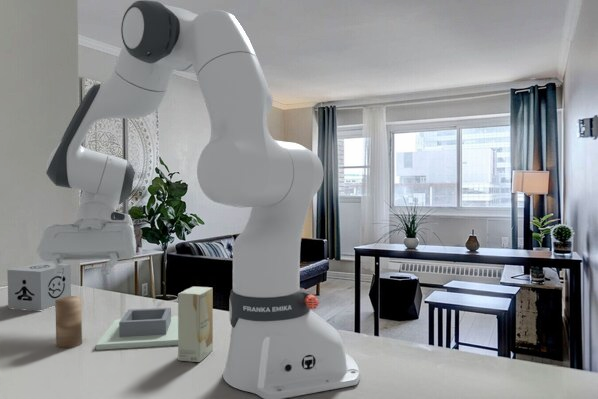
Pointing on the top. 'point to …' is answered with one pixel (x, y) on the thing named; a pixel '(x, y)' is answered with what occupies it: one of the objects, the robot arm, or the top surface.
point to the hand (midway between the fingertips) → (82, 273)
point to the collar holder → (141, 330)
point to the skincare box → (195, 323)
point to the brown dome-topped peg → (68, 322)
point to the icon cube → (37, 286)
